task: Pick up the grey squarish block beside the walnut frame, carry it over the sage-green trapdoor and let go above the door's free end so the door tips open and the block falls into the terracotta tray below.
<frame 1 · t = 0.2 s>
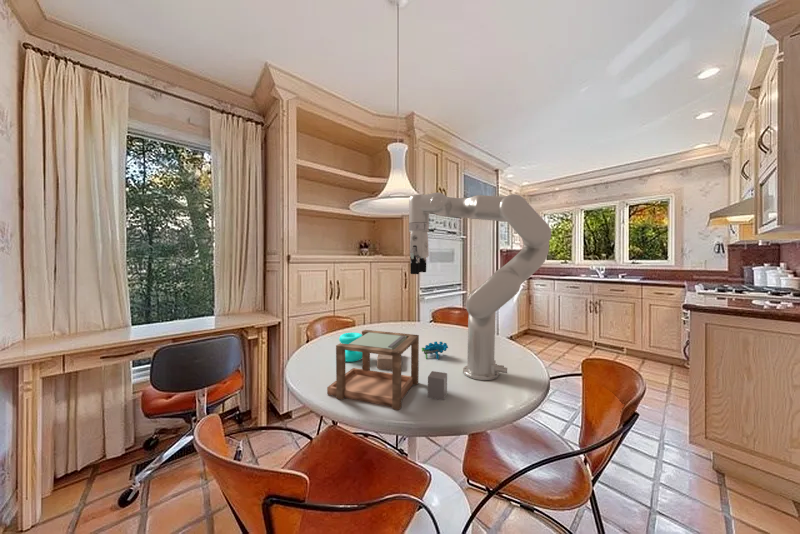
hand: (418, 273, 121), 36 cm above the table, tool pointing down, fingers open, 9 cm apart
trapdoor: (378, 340, 101), point 16 cm above the table, hinge at 0.0°
donuts: (351, 359, 131), on the table
gear: (434, 357, 133), on the table
frame: (380, 390, 102), on the table
brick: (389, 362, 128), on the table
grey squarish block: (437, 395, 98), on the table
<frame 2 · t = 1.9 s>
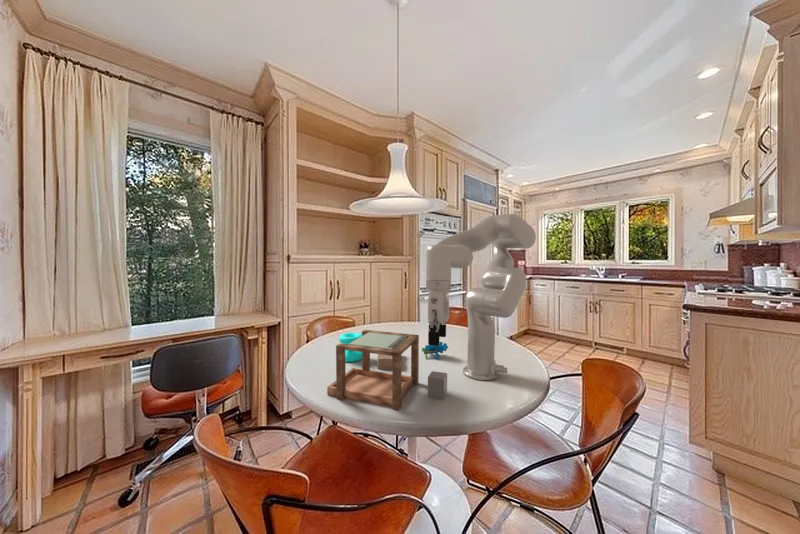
hand: (437, 340, 97), 17 cm above the table, tool pointing down, fingers open, 9 cm apart
nothing on the table moved.
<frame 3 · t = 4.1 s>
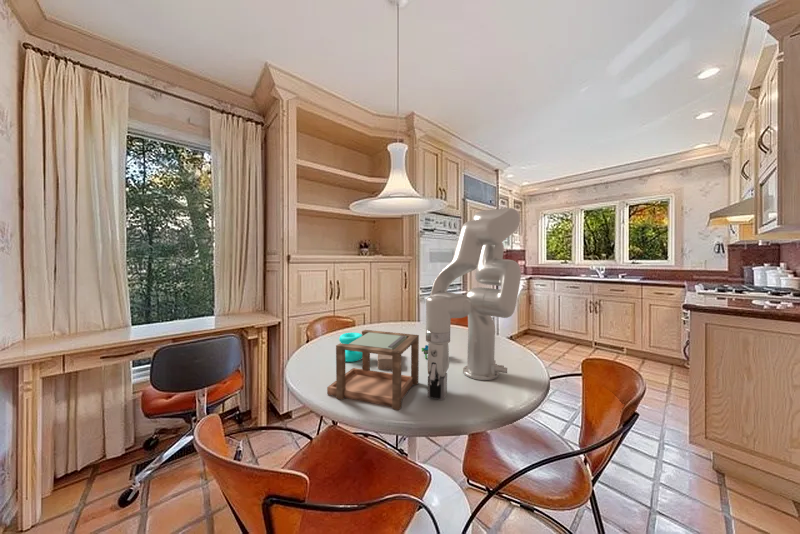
hand: (437, 392, 98), 1 cm above the table, tool pointing down, fingers closed on grey squarish block, 5 cm apart
grey squarish block: (437, 395, 98), on the table, touching gripper
everything else where it was.
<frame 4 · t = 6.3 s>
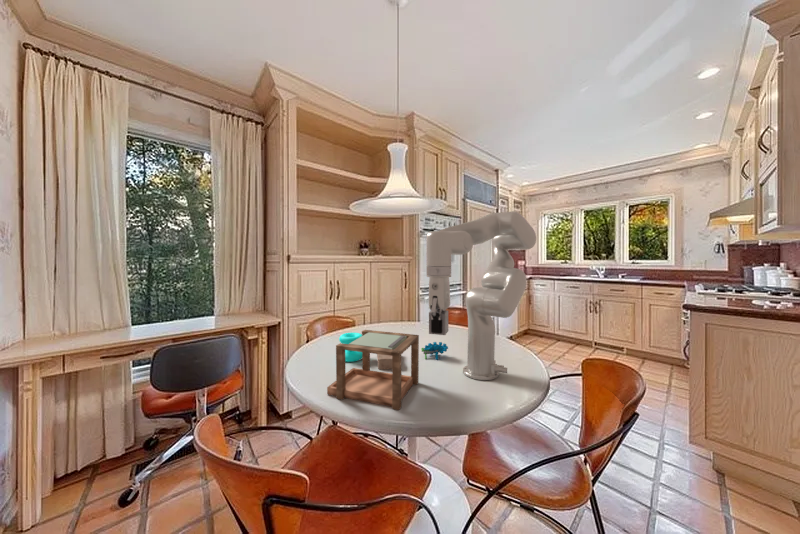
hand: (438, 329, 97), 21 cm above the table, tool pointing down, fingers closed on grey squarish block, 5 cm apart
grey squarish block: (438, 332, 98), point 20 cm above the table, touching gripper
everything else where it was.
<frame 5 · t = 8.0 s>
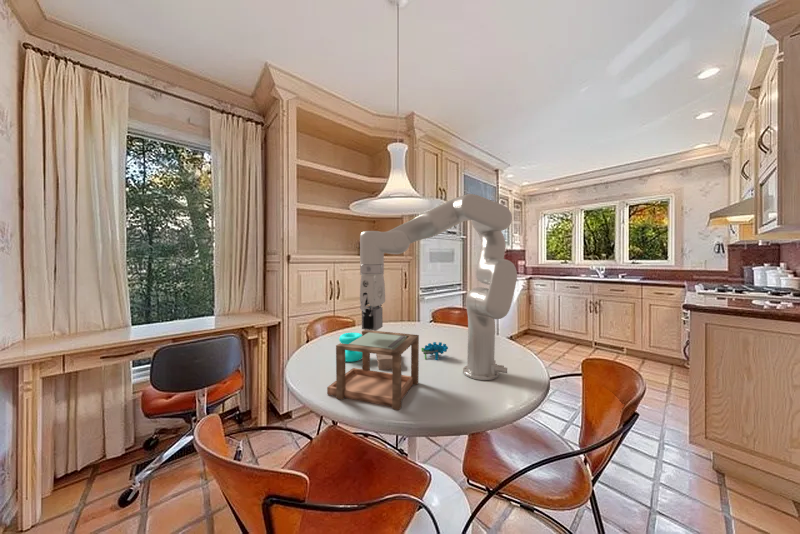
hand: (372, 325, 101), 21 cm above the table, tool pointing down, fingers closed on grey squarish block, 5 cm apart
grey squarish block: (372, 328, 102), point 20 cm above the table, touching gripper
everything else where it was.
when the fingers open (19 cm above the table, at t = 8.6 s): grey squarish block drops 15 cm and tips over, resting on frame.
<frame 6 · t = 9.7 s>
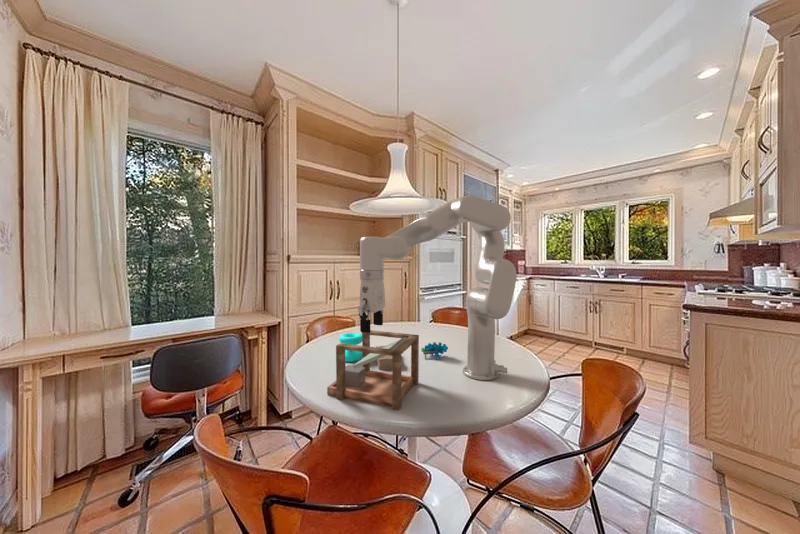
hand: (372, 328, 102), 20 cm above the table, tool pointing down, fingers open, 9 cm apart
trapdoor: (381, 351, 101), point 13 cm above the table, hinge at -27.0°
grey squarish block: (362, 377, 104), point 3 cm above the table, tilted 90°, touching frame
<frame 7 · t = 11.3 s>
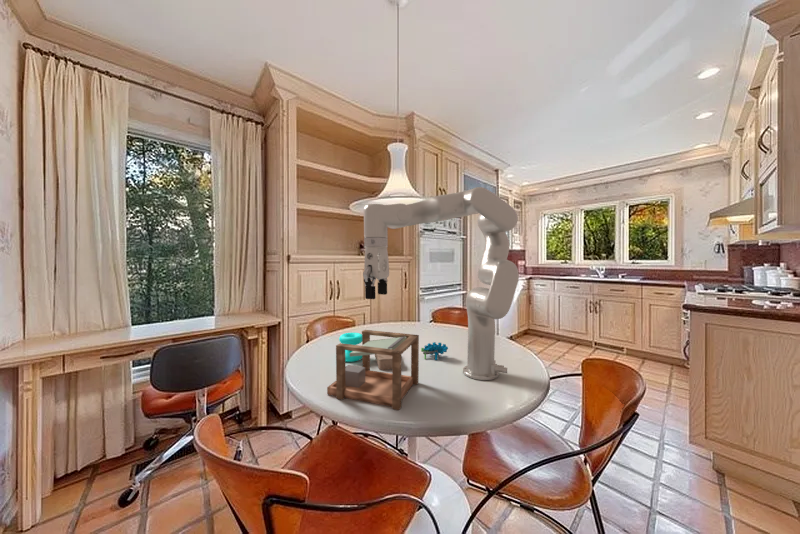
hand: (376, 296, 102), 30 cm above the table, tool pointing down, fingers open, 9 cm apart
trapdoor: (379, 345, 101), point 15 cm above the table, hinge at -11.7°
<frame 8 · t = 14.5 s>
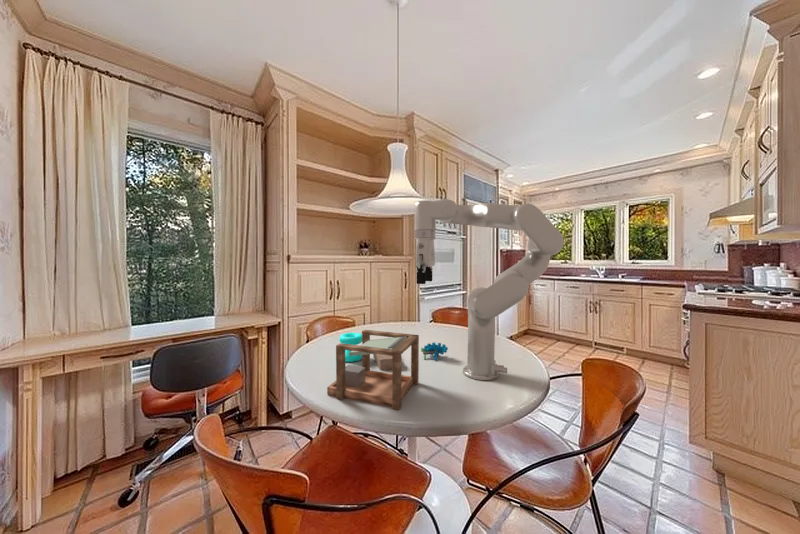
hand: (424, 282, 115), 33 cm above the table, tool pointing down, fingers open, 9 cm apart
trapdoor: (379, 345, 101), point 15 cm above the table, hinge at -10.7°
at the end: grey squarish block point 3.3 cm above the table; grey squarish block inside the target area on the frame (3.7 cm from its centre), point 3.3 cm above the frame's base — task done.
